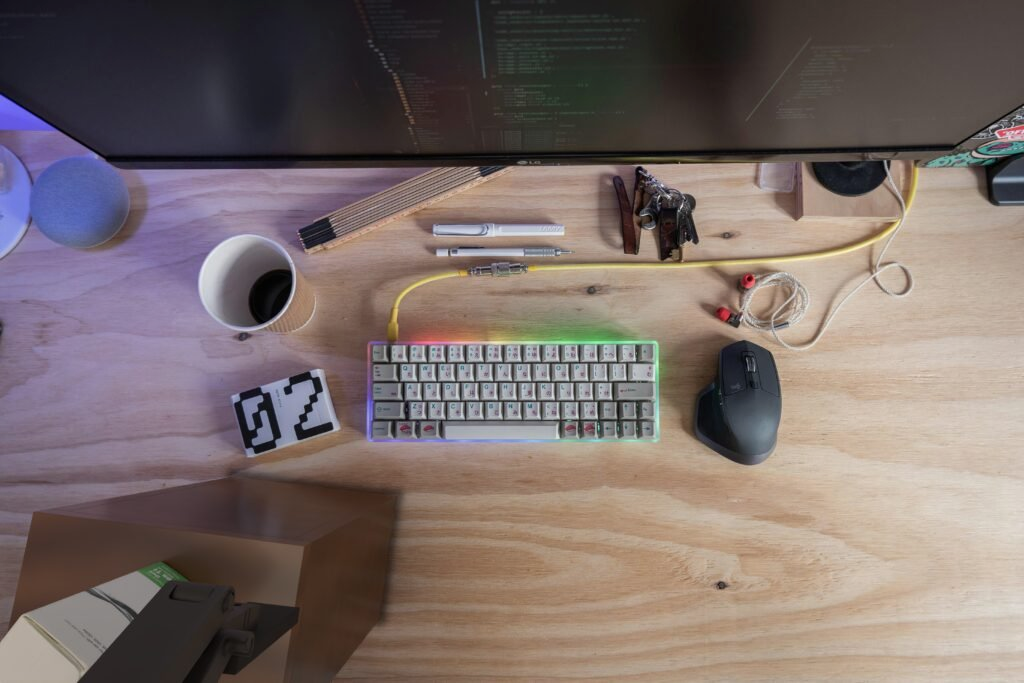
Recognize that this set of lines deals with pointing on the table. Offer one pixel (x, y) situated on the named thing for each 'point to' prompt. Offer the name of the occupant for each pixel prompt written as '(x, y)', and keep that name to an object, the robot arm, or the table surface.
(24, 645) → the ink box
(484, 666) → the table surface
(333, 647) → the shelf stand
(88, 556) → the shelf
